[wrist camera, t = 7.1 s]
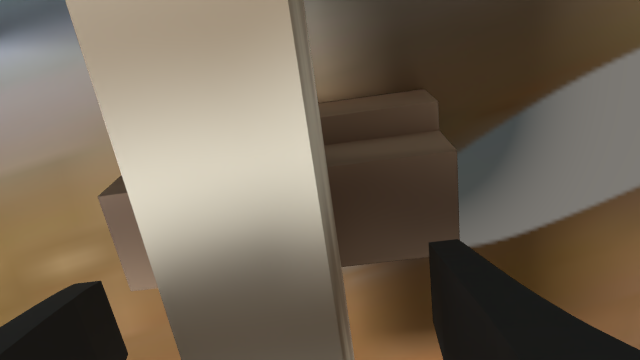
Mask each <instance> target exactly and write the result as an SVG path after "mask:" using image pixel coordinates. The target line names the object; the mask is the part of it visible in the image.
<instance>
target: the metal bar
mask: <svg viewBox="0 0 640 360" xmlns="http://www.w3.org/2000/svg"><path fill="white" fill-rule="evenodd" d="M65 1H66V4H67V7H68V11H69V14H70V17H71V20H72V23H73V26H74V29H75V32H76V35H77V38H78V41H79V45H80V48H81V51H82V54H83V57H84V60H85V63H86V66H87V69H88V72H89V75H90V79H91V82H92V85H93V88H94V91H95V94H96V97H97V100H98V103H99V106H100V109H101V113H102V116H103V119H104V122H105V125H106V128H107V131H108V134H109V137H110V140H111V143H112V147H113V150H114V153H115V156H116V159H117V162H118V165H119V168H120V171H121V174H122V177H123V181H124V184H125V187H126V190H127V193H128V196H129V199H130V202H131V205H132V208H133V211H134V215H135V218H136V221H137V224H138V227H139V230H140V233H141V236H142V239H143V242H144V245H145V249H146V252H147V255H148V258H149V261H150V264H151V267H152V270H153V273H154V276H155V279H156V283H157V286H158V289H159V292H160V295H161V298H162V301H163V304H164V307H165V310H166V313H167V317H168V320H169V323H170V326H171V329H172V332H173V335H174V338H175V341H176V344H177V347H178V351H179V354H180V357H181V360H354V353H353V345H352V338H351V331H350V324H349V317H348V310H347V303H346V296H345V289H344V282H343V275H342V268H341V261H340V254H339V247H338V240H337V233H336V226H335V219H334V212H333V205H332V198H331V191H330V184H329V177H328V170H327V163H326V156H325V149H324V141H323V134H322V127H321V120H320V113H319V106H318V99H317V92H316V85H315V78H314V71H313V64H312V57H311V50H310V43H309V36H308V29H307V22H306V15H305V8H304V1H303V0H65Z"/></svg>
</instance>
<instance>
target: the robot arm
mask: <svg viewBox="0 0 640 360" xmlns="http://www.w3.org/2000/svg"><path fill="white" fill-rule="evenodd" d="M428 243H429V261H430V278H431V295H432V312H433V323H434V326H435V330H436V334H437V338H438V342H439V345H440V349H441V353H442V356H443V360H640V350H638V349H636V348H634V347H632V346H630V345H628V344H626V343H624V342H622V341H620V340H618V339H616V338H614V337H612V336H610V335H608V334H606V333H604V332H602V331H600V330H598V329H596V328H594V327H592V326H590V325H589V324H587V323H585V322H583V321H581V320H579V319H578V318H576V317H574V316H572V315H571V314H569V313H567V312H565V311H564V310H562V309H560V308H559V307H557V306H555V305H554V304H552V303H550V302H549V301H547V300H545V299H544V298H542V297H540V296H539V295H537V294H536V293H534V292H533V291H531V290H529V289H528V288H526V287H525V286H523V285H522V284H520V283H519V282H517V281H516V280H514V279H513V278H511V277H510V276H508V275H507V274H506V273H504V272H503V271H501V270H500V269H498V268H497V267H496V266H494V265H493V264H492V263H490V262H489V261H487V260H486V259H485V258H483V257H482V256H480V255H479V254H478V253H476V252H475V251H474V250H472V249H471V248H470V247H468V246H467V245H465V244H464V243H462V242H461V241H460V240H458V239H453V240H445V241H436V242H428ZM127 356H128V352H127V349H126V347H125V344H124V341H123V339H122V336H121V333H120V331H119V328H118V325H117V323H116V320H115V317H114V315H113V312H112V309H111V307H110V304H109V301H108V298H107V296H106V293H105V290H104V288H103V285H102V282H101V281H95V282H87V283H78V284H73V285H71V286H69V287H67V288H65V289H63V290H61V291H59V292H58V293H56V294H54V295H52V296H50V297H49V298H47V299H45V300H44V301H42V302H40V303H39V304H37V305H35V306H34V307H32V308H30V309H29V310H27V311H26V312H24V313H22V314H21V315H19V316H18V317H16V318H14V319H13V320H11V321H10V322H8V323H6V324H5V325H3V326H2V327H0V360H126V359H127Z"/></svg>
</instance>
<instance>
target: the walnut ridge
mask: <svg viewBox="0 0 640 360" xmlns="http://www.w3.org/2000/svg"><path fill="white" fill-rule="evenodd" d="M318 106H319V113H320V120H321V127H322V134H323V141H324V149H325V156H326V163H327V170H328V177H329V184H330V191H331V198H332V205H333V212H334V219H335V226H336V233H337V240H338V247H339V254H340V261H341V267H346V266H355V265H363V264H372V263H381V262H389V261H398V260H407V259H416V258H424V257H429V243H428V242H436V241H445V240H453V239H458V240H460V239H459V203H458V170H457V169H458V168H457V150H456V149H455V148H454V147H453V145H452V144H451V143H450V142H449V141H448V140H447V138H446V137H445V136H444V135H443V134H442V133H441V132H440V130H439V109H438V101H437V100H436V99H435V98H434V97H433V96H432V95H431V94H429V93H428V92H427V91H426V90H425V89H421V90H414V91H406V92H399V93H392V94H384V95H377V96H370V97H362V98H355V99H348V100H340V101H333V102H326V103H318ZM98 199H99V202H100V205H101V208H102V211H103V213H104V216H105V219H106V222H107V225H108V228H109V231H110V233H111V236H112V239H113V242H114V245H115V248H116V250H117V253H118V256H119V259H120V262H121V265H122V268H123V270H124V273H125V276H126V279H127V282H128V285H129V287H130V290H131V291H137V290H146V289H154V288H158V286H157V283H156V279H155V276H154V273H153V270H152V267H151V264H150V261H149V258H148V255H147V252H146V249H145V245H144V242H143V239H142V236H141V233H140V230H139V227H138V224H137V221H136V218H135V215H134V211H133V208H132V205H131V202H130V199H129V196H128V193H127V190H126V187H125V184H124V181H123V177H122V175H121V176H120V177H119V178H118V179H117V180H116V181H115V182H113V183H112V184H111V185H110V186H109V187H108V188H107V189H106V190H104V191H103V192H102V193H101V194H100V195H99V196H98Z"/></svg>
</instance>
